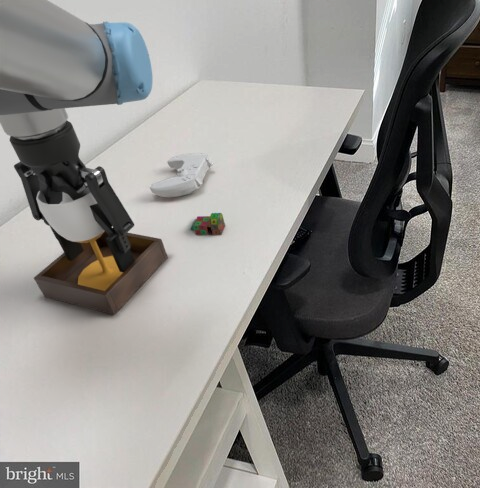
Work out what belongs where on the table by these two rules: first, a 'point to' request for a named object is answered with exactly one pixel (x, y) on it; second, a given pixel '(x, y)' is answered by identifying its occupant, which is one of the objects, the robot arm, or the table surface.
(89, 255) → the holder
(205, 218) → the block
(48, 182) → the robot arm
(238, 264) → the table surface
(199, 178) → the game controller
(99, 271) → the cup
